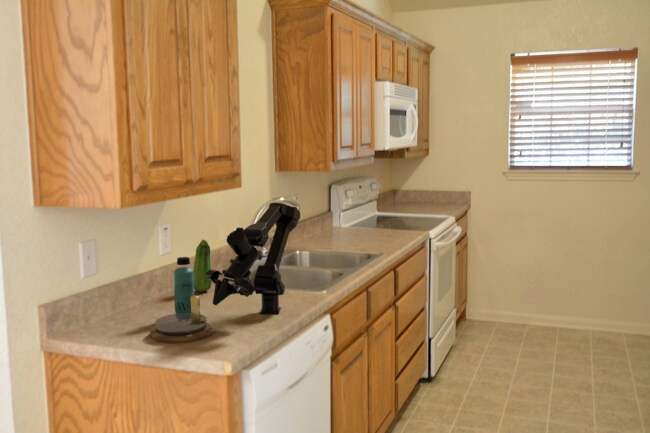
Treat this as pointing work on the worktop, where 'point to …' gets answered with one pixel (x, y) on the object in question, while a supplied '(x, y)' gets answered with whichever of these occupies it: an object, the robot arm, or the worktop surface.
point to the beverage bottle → (183, 286)
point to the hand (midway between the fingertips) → (214, 304)
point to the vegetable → (202, 267)
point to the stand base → (181, 336)
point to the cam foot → (183, 321)
